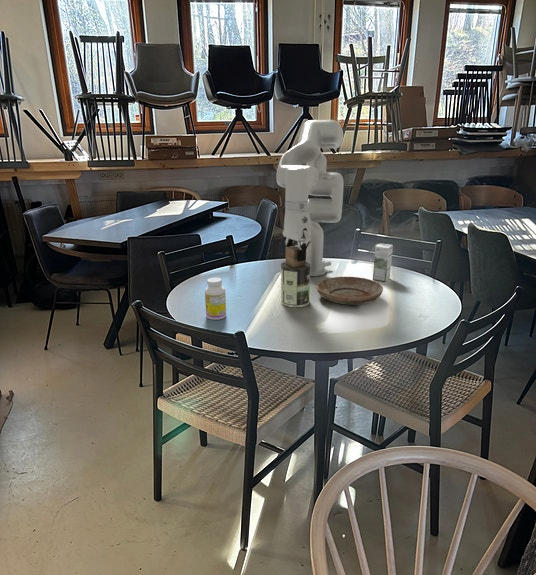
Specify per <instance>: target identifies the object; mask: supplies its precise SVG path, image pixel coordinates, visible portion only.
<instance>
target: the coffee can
mask: <svg viewBox="0 0 536 575" xmlns="http://www.w3.org/2000/svg"><path fill="white" fill-rule="evenodd" d="M310 266H311V265H310V263H308V262H306V265H303V266H298V267H292V266H290V265H287V264H286V261H284V262H282V263H281V264H280V269H281V270H280V271H281V272H280V274H281V275H280V276H281V279H280V280H281V282H280V283H281V284H280V288H281V290H280V291H281V293H280V295H281V297H280V298H281V299H280V303H281V304H282V306H285V307H289V308H304V307H307V306H308V305H310V286H311V285H310V284H311V282H310V281H311V276H310Z"/></svg>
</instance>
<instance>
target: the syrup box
mask: <svg viewBox="0 0 536 575" xmlns="http://www.w3.org/2000/svg"><path fill="white" fill-rule="evenodd" d="M393 249H394V245H393V244H389V243H388V244H386V243H377V244H375V245H374V259H373V260H374V262H373V271H372V272H373V273H372V280H373V281H379V282H388V281H389V280H390V279H391V270H392V269H391V268H392V258H393ZM389 278H390V279H389ZM388 279H389V280H388Z"/></svg>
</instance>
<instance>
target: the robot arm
mask: <svg viewBox="0 0 536 575" xmlns="http://www.w3.org/2000/svg"><path fill="white" fill-rule="evenodd" d="M343 142H344V131H343V127H342V126H341V124H340V123H339V122H338V121H337V120H334V119H311V120H306V122H304V123H303V124H302V126H301V128H300V131H299V136H298V139H297V144H296V145H294V146H293V147H291V148H289V150H287V151H286V152H285V153H284V154H282V156H281V157H280V159H279V163H278V165H277V170H276V173H275V174H276V176H275V178H276V183H277V185H278V186H279V187H282V188H285V198H284V199H285V202H284V204H285V206H284V207H285V213H284V220H283V230H282V235H283V236H282V237H283V239H284V244H285V248H286V247H289V246H295V244H294V243H295V242H297V245H298V248H299V250H298V251H297V261H305V260H306V262H308V263H310V265H311V266H310V277H319V276H323V275H325V274H326V273H327V272H326V268H327V267H329V266H331V265H332V262H331V261H330V260H329V261H325V260H324V259H323V258H324V230H323V228H322V226H321V225H320V223H327V224H329V223H330V224H331V223H333V224H335V223H339V222H340V220H341V219H342V214H343V213H342V212H343V203H344V202H343V200H344V178H343V175H342V174H341V173H339V172H332V171H331V172H328V171H327V163H328V162H327V160H328V159H327V158H326V156H325V155H324V153H323V152H322V151H321V149H338V148H340V147H342V144H343ZM309 195H310V196H314V197H315V196H316V197H330V198H309Z"/></svg>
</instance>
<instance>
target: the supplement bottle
mask: <svg viewBox="0 0 536 575" xmlns="http://www.w3.org/2000/svg"><path fill="white" fill-rule="evenodd" d="M206 282H207V284H206V285H207V286H206V288H205V289H204V300H205V301H204V302H205V303H204V304H205V315H206V318H207V319H209V320H213V321H219V320H222V319H225V317H226V316H227V302H226V301H227V300H226V299H227V298H226V297H227V296H226V287H225V286H223V285H222V284H223V279H222V278H220V277H210V278H207V280H206Z"/></svg>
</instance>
